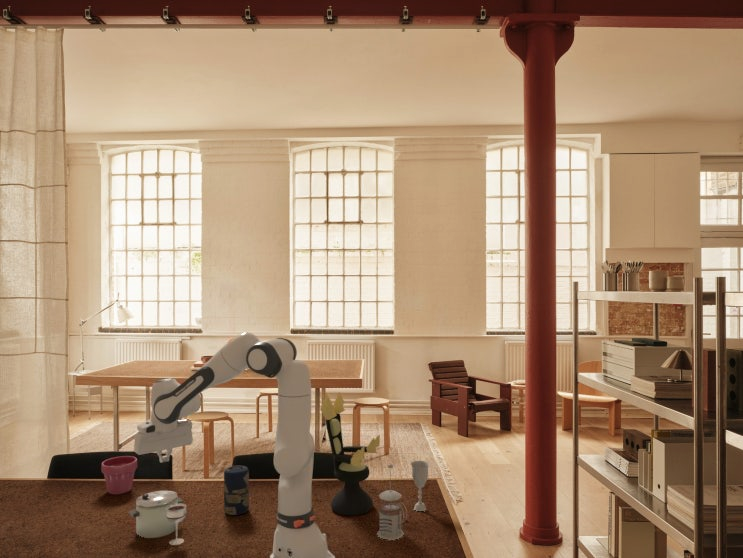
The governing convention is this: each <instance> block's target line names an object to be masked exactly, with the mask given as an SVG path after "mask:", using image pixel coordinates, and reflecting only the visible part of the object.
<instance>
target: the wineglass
mask: <svg viewBox="0 0 743 558" xmlns="http://www.w3.org/2000/svg"><path fill="white" fill-rule="evenodd" d="M166 509H167V512H166V517H167V519H168V520H169V521H170V522H173V523H174V524H175V528H176V530H175V538H173V539H171V540H170V541H169V542H168V543H169V545H171V546H178V545H181V544H183V543H184V542H185V539H183V538H179V537H178V530H179V529H178V527H179V526H178V525H179V523H180V522H182V521H183V520H184V519H185V518H186V516H187V512H188V511H187V504H185V503H184V502H183V503H176V504H172V505H169V506H168V507H167V508H166Z"/></svg>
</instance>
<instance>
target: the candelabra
mask: <svg viewBox="0 0 743 558" xmlns="http://www.w3.org/2000/svg"><path fill="white" fill-rule="evenodd" d="M324 397H325V398H324V399H323V400H322V404H321V407H320V411H321V413H322V416H323V417H324V419H325V420H324V421H325V427H326V431H327V435H328V436H327V437H328V441H329V445H330V449H331V453H332V457H333V458H332V459H333V466H334V470H333V471H334V472H333V473H334V477H335V478H336V479H337V480H338V481H340V482H343V483H344V486H343V487H342V488H341V489H340V490H339V491H337V492H336V494H335V495H334V496H333V497H332V499H331V501H330V507H331V509H332V510H333V511H334V512H335V513H337V514H339V515H344V516H359V515H360V516H361V515H363V514H366V513H368V512H369V511H370V510H372V508H373V507H374V502H373V498H372V497H371V495H369V494H368V493H367V491H365V490H364V489H363V488H362V487H361V485H360V483H361V482H363V481H365V480H367V478H369V475H370V469H369V467H368V465H366V464H365V463H363V462H362V460H363V459H365V453H368V454H369V453H370V454H377V448H378V447H380V440H381V439H380V438H381V437H380V436H381V435H380V434H378V435H377V436H376V438H374V437H373V438H372V439H371V440H370V442H369V444H368V445H367V446H357V445H356V446H355V445H354V446H353V445H352V446H351V445H349V446H348V445H347V446H344V444H343V434H342V433H343V432H342V421H341V415H340V414H341V413H344V411H346V409H345V408H344V403H345V400H344V398H343V397H342V395H341V393H340V392H338V394H337V397H336V398H335V401H334V402H332V400H331V398H330V396H329V395H328V393H326V394H325V395H324ZM345 453H354V454H353V455H352V456H347V455H345Z"/></svg>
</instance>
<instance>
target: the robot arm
mask: <svg viewBox="0 0 743 558" xmlns="http://www.w3.org/2000/svg"><path fill="white" fill-rule="evenodd" d="M297 354H298V350H297V347H296V345H295V344H294V343H293V342H292V341H291V340H290V339H287V338H284V337H283V338H282V337H276V338H269V339H265V340H260V339H259V338H258V337H257V336H256V335H255V334H254V333H251V332H242V333H240V334H239V335H237V336H236V337H234V338H232V339H231V340H230V341H228V342H227V343H225V344H224V345H223V346H222V347H221V348H219V349H218V350H217V352H216V353H214V355H213V356H212V357H211V358H210V359H208V360H207V362H206V363H205V364H203V365H202V366H201V367H200V368H199V369H198V370H197V371H196V372H194V373H193V374H192V375H191V376H190V377H188V378H187V379H186V380H185V381H183V382H182V383H179V381H177V379H176V378H173V377H167V378H164V379H163V378H162V379H158V380H155V381H154V382H153V384H152V386H151V391H150V392H151V393H150V405H151V406H150V407H151V414H150V418H149V419H147V420H145V421H143V422H142V423H139V424H137V426H136V429H137V431H138V432H137V433H136V434H135V437H134V445H133V446H134V447H133V449H134V450H133V451H134V453H136V455H138V456H140V455H146V454H150V453H151V454H152V453H156V454H157V457H159V461H158V462H160V463H166V462H169V461H170V457H171V454H172V453H173V449H175V448H180V447H185V446H190V445H192V443H193V441H194V439H193V431H192V429H193V422H192V421H191V420H189V419H183V418H186V417H189V416H190V415H193V414H195V413H197V412H198V411H199V410H200V408H201V406H202V398H201V395H200V394H201V393H203V392H204V391H206V390H207V389H210V388H213V387H215V386H218V385H221V384H224V383H228V382H230V381H231V380H234V379H235V378H236V377H237V378H238V376H240V375H241V374H243V372H244V371H246V370H247V369H249V370H251V372H253V373H255V374H258V375H262V376H264V377H267V378H270V379H272V378H275V379H276V381H277V421H276V430H275V431H276V432H275V441H274V443H275V444H274V454H273V466H274V469H275V471H276V472H277V474H280V475H279V480H278V485H277V486H278V488H277V494H278V495H277V502H278V503H277V505H278V506H277V510H276V522H277V525H276V528H275V530H274V533H273V545H272V553H271V554H270V555H269V558H336V556H335V555H334V554H333V553H331V551H330V550H329V548H328V542H327V534H326V533H323V532H322V531H321V530H320V527H319V526H318V524H317V523H316V520H317V518H316V517H317V515H315V511H314V508H313V507H312V494H313V493H312V488H313V486H312V483H313V470H314V459H315V457H314V453H315V441H314V437H313V435H312V433H311V432H310V430H311V429H310V428H311V422H312V421H311V420H312V381H311V375H310V369H309V367H308V364H307V363H306V362H304V361H302V360H299V359H296V358H297V356H298V355H297ZM182 419H183V420H182ZM165 450H166V453H165V455H162V454H163V451H165Z"/></svg>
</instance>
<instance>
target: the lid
mask: <svg viewBox="0 0 743 558" xmlns="http://www.w3.org/2000/svg"><path fill="white" fill-rule="evenodd" d="M177 498H178V493H177V492H176V491H173V490H156V491H151V492H148V493H144V494H142V495H140V496H138V497H137V498H136V500H135V503H136V504H137V505H138V506H140V507H158V506H163V505H167V504H170V503H172V502H174V501H175V500H176V499H177ZM136 504H135V505H136Z"/></svg>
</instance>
